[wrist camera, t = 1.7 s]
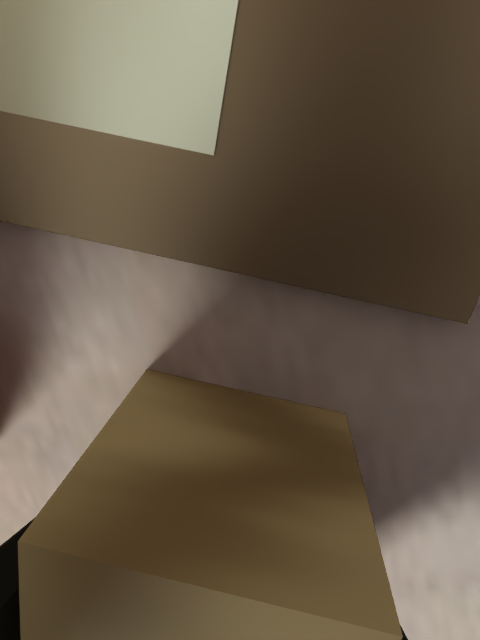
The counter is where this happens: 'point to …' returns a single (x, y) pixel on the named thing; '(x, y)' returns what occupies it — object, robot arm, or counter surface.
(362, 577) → the oak block
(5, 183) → the brown wooden board
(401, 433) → the counter surface
